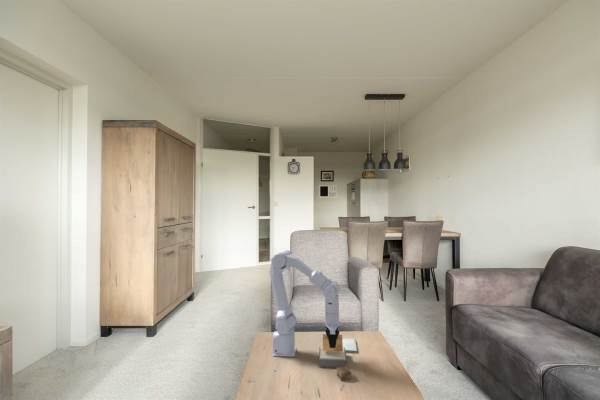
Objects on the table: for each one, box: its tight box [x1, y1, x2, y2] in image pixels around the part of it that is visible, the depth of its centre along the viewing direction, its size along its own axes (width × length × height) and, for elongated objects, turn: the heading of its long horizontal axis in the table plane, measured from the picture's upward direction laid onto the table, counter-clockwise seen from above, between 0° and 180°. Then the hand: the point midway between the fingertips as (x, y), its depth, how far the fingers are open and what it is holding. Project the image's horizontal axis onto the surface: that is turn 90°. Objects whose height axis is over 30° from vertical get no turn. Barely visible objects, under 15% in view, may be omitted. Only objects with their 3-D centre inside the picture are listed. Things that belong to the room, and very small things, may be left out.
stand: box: [318, 346, 348, 369], centre depth 124 cm, size 11×11×3 cm
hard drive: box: [342, 338, 358, 354], centre depth 137 cm, size 2×8×12 cm
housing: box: [322, 333, 343, 351], centre depth 124 cm, size 8×4×5 cm, turn 85°
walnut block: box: [336, 365, 352, 382], centre depth 112 cm, size 4×4×3 cm
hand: (332, 345), depth 124 cm, fingers closed on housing, 4 cm apart
